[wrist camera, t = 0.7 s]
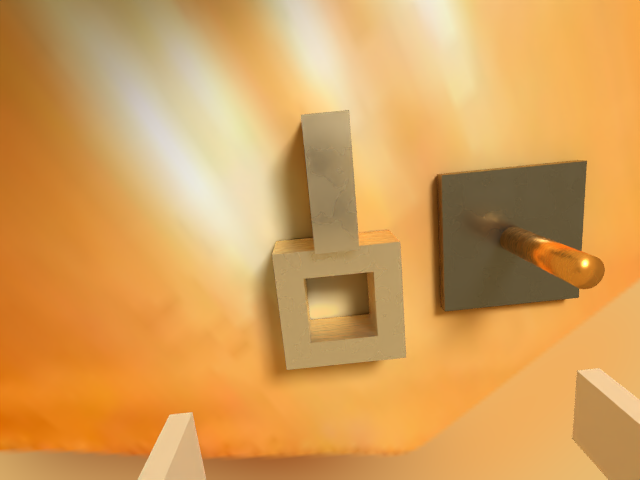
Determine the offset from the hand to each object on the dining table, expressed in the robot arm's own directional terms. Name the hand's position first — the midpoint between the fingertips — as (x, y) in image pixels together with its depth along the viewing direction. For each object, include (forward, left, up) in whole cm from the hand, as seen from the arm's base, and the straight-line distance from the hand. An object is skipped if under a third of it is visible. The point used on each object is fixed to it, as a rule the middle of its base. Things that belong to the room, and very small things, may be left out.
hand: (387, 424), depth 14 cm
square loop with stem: (-2, 0, -19) cm, 19 cm away
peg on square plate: (-1, +13, -19) cm, 23 cm away
